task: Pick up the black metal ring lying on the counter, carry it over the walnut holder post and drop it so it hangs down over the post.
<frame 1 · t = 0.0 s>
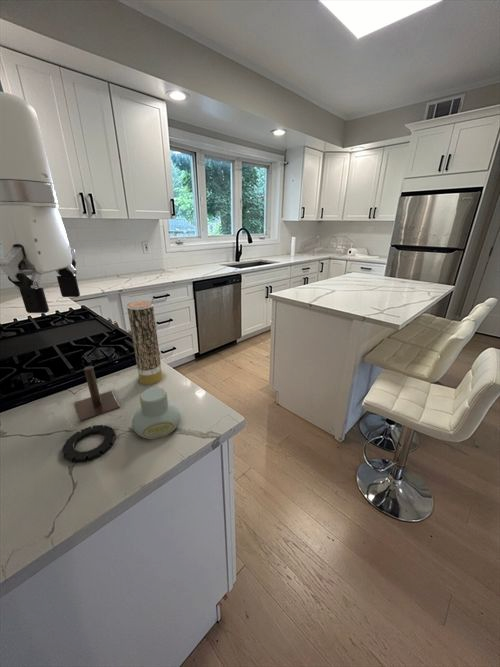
hand: (56, 303, 49), 33 cm above the countertop, tool pointing down, fingers open, 9 cm apart
patterned tall cylinder: (151, 381, 87), on the countertop
holder: (98, 408, 74), on the countertop
ring: (91, 447, 61), on the countertop
air freshener: (158, 429, 67), on the countertop
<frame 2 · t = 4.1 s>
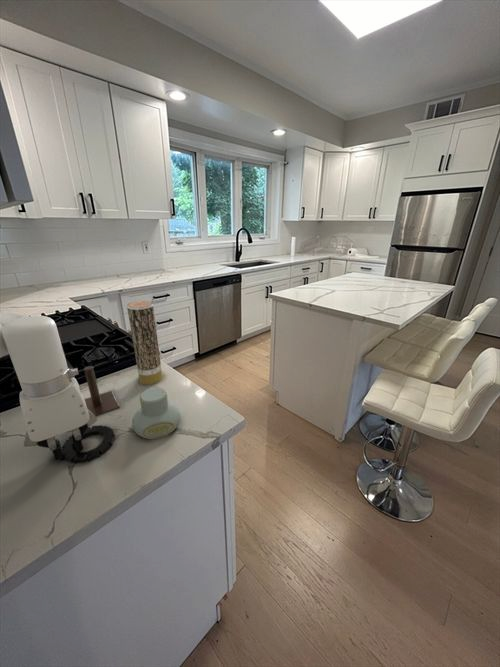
hand: (70, 454, 59), 0 cm above the countertop, tool pointing down, fingers closed on ring, 2 cm apart
ring: (90, 448, 61), on the countertop, touching gripper
everything else where it was.
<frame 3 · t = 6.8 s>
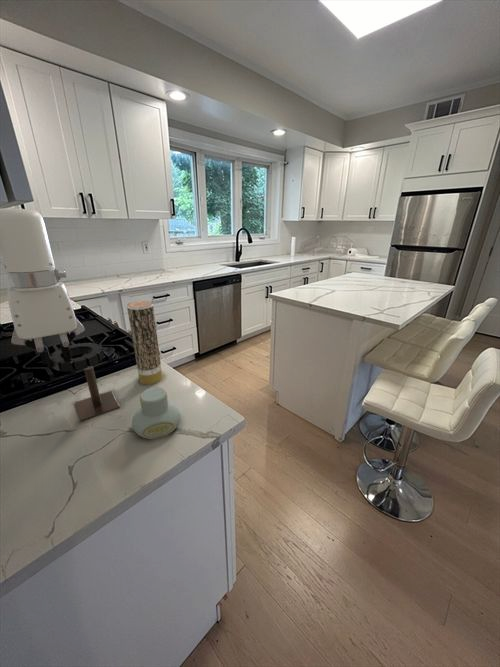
hand: (58, 363, 60), 18 cm above the countertop, tool pointing down, fingers closed on ring
ring: (78, 360, 62), point 18 cm above the countertop, touching gripper
everything else where it was.
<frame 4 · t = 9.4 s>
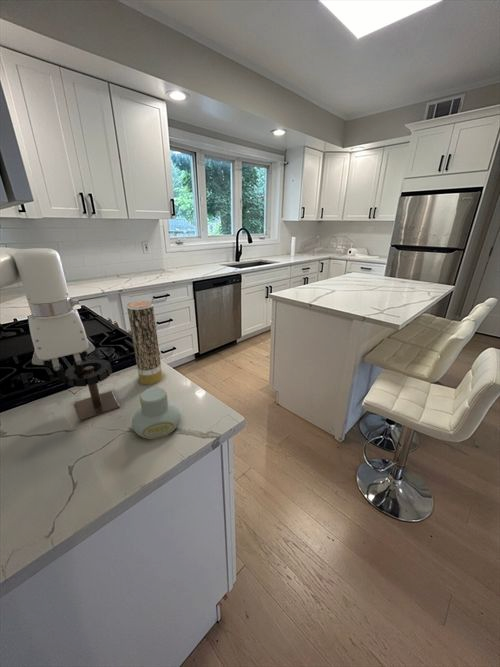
hand: (71, 379, 67), 11 cm above the countertop, tool pointing down, fingers closed on ring
ring: (89, 375, 70), point 10 cm above the countertop, touching gripper
everything else where it was.
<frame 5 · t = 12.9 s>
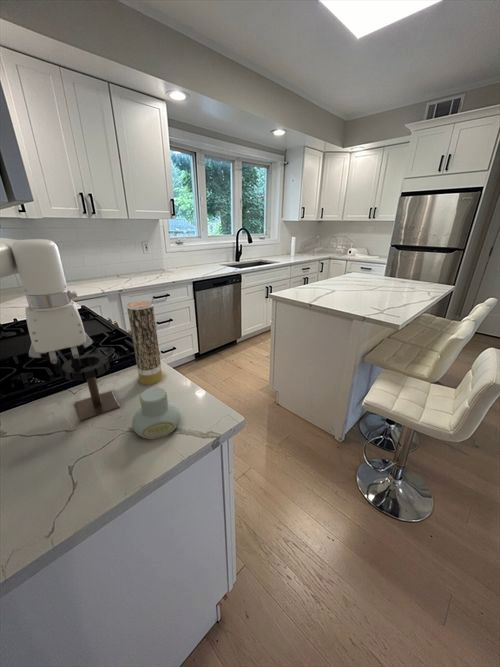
hand: (69, 372, 67), 12 cm above the countertop, tool pointing down, fingers closed on ring
ring: (87, 369, 69), point 12 cm above the countertop, touching gripper
everything else where it was.
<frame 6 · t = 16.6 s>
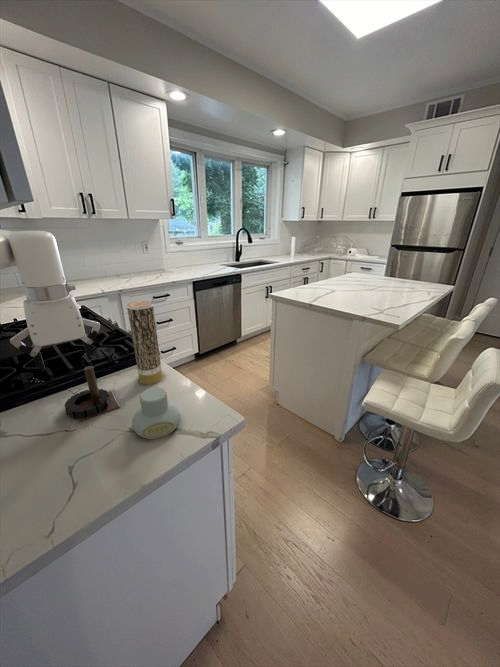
hand: (67, 363, 66), 15 cm above the countertop, tool pointing down, fingers open, 9 cm apart
ring: (89, 405, 73), point 1 cm above the countertop, touching holder
everything else where it was.
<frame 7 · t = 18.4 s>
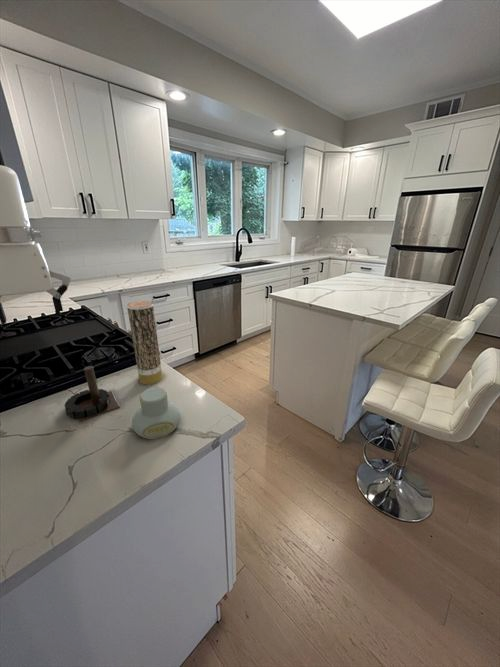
hand: (32, 318, 61), 26 cm above the countertop, tool pointing down, fingers open, 9 cm apart
nothing on the countertop moved.
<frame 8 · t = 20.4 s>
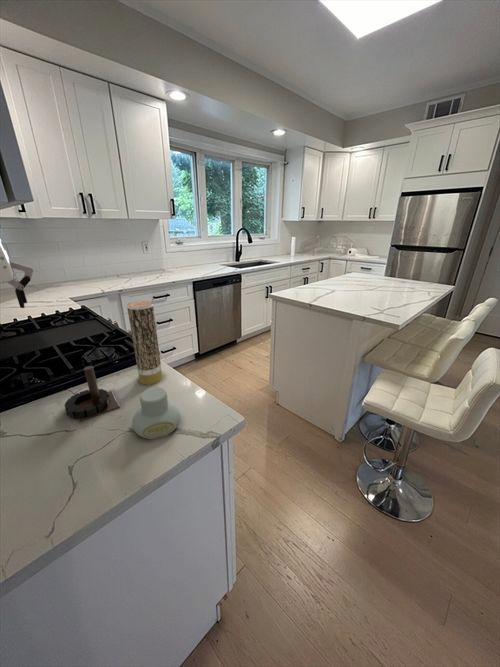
nothing on the countertop moved.
at the end: ring 2.0 cm off-centre on the holder, point 1.5 cm above the holder's base; the gripper is holding nothing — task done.
